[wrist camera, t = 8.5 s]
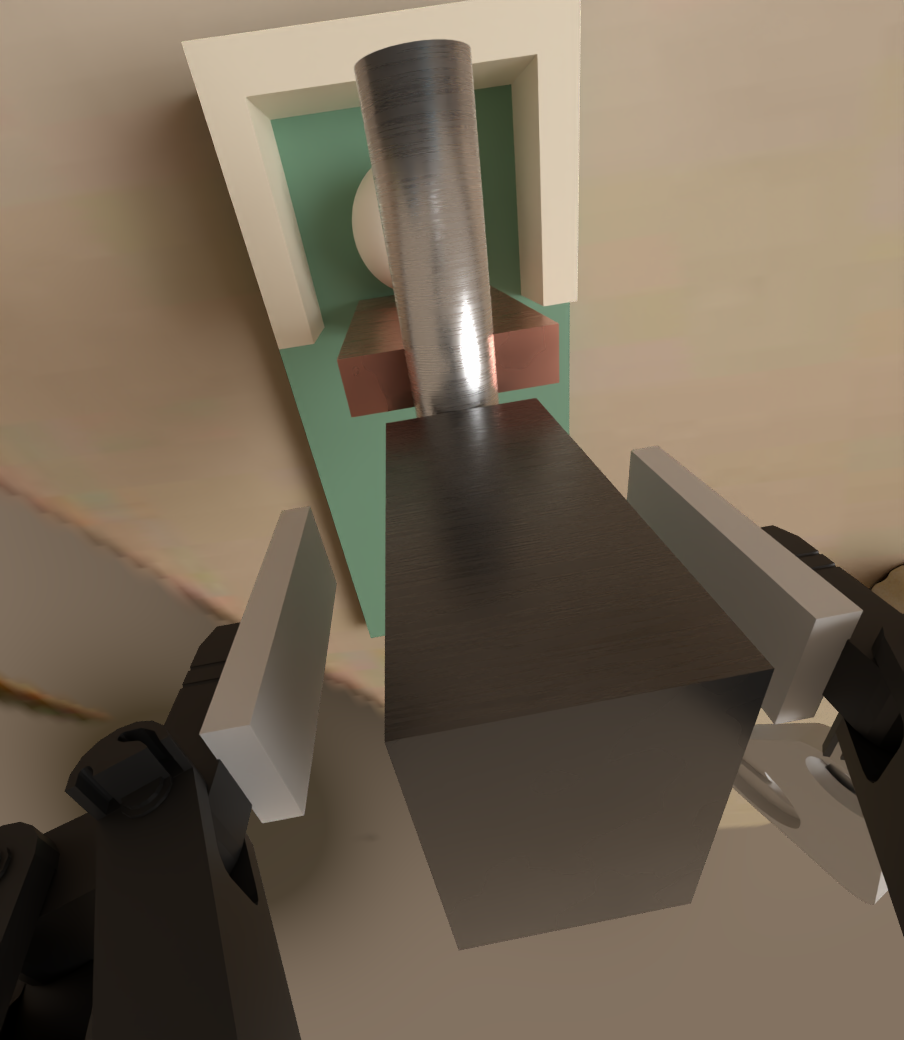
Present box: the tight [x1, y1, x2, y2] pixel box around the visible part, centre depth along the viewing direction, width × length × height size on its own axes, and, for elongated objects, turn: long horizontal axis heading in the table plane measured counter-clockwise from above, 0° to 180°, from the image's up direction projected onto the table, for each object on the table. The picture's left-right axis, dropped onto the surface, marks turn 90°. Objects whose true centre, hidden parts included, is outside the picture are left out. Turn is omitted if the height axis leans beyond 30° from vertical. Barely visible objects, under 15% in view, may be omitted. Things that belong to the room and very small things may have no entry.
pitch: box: [181, 0, 581, 638], centre depth 26 cm, size 31×15×6 cm, turn 8°
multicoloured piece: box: [337, 39, 775, 950], centre depth 14 cm, size 13×6×22 cm, turn 8°
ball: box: [352, 168, 393, 289], centre depth 20 cm, size 5×5×5 cm
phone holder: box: [732, 723, 888, 905], centre depth 35 cm, size 17×10×18 cm, turn 24°
